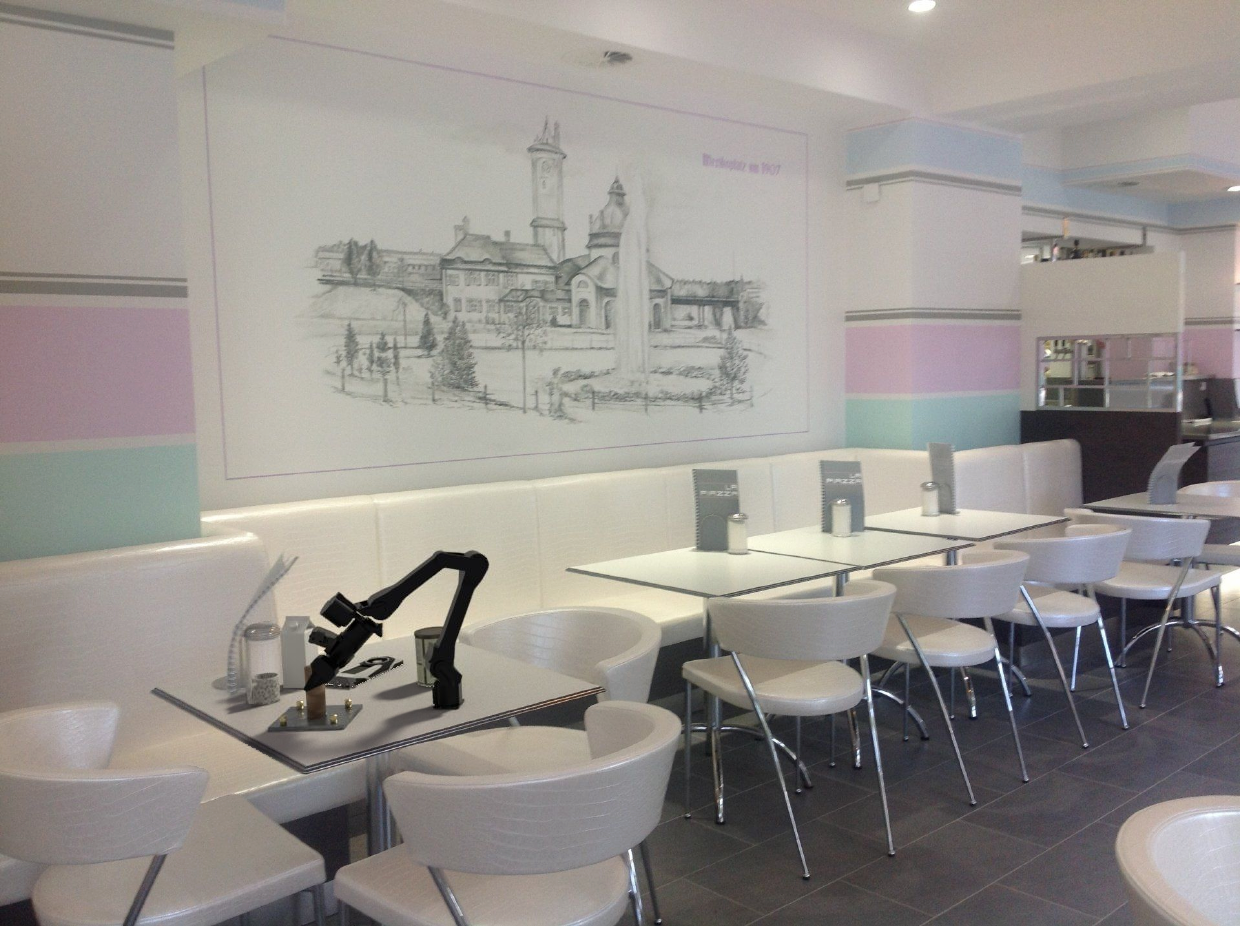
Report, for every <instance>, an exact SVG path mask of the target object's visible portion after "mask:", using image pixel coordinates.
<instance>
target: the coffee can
mask: <svg viewBox="0 0 1240 926" xmlns="http://www.w3.org/2000/svg"><path fill="white" fill-rule="evenodd" d="M442 628H443V625H442V626H439V625H438V626H428V627H422V628H418V629H416V630H415V631H414V632H413V636H414V647H415V660H416V661H415V662H416V677H417V679H416V681H417V683H418V684H419V685H421V686H420V687H422V686H434V682H435V681H436V680H437V679H436V678H435V677H433V676H432V675H431V674H430V672H429V671H428V670H427V668H426V666H425V658H424V657H423V656H424V655H425V654H426V652H427V649H428V644H429V642H431V643H433V644H434V643H435V642H436V641H437V640H438V638H439V636H440V634H441V631H442ZM453 666H454V667H455V663H454V664H453ZM418 684H417V685H418ZM419 685H418V686H419Z"/></svg>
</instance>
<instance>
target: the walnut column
mask: <svg viewBox="0 0 1240 926" xmlns="http://www.w3.org/2000/svg"><path fill="white" fill-rule="evenodd" d="M304 673H305V685H306V683H307V681H308V679H309V677H310V676H311V674H312V668H311V665H308V666H305V667H304ZM305 703H306V705H305V706H307V717H308V718H320V717H324V716H326V705H327V701H326V686H325V684H323V685H321V686H318V687H316V688H314V689H312V690H310V691H308V692H305Z"/></svg>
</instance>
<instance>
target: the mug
mask: <svg viewBox="0 0 1240 926" xmlns="http://www.w3.org/2000/svg"><path fill="white" fill-rule="evenodd" d="M246 699H247V703H248V704H249V705H256V706H268V705H273V704H277V703H279V702H280V701H281V689H280V676H279V673H277V672H263V673H258V674H255V675H253V676H251V684H250V685H248V687H246Z"/></svg>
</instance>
